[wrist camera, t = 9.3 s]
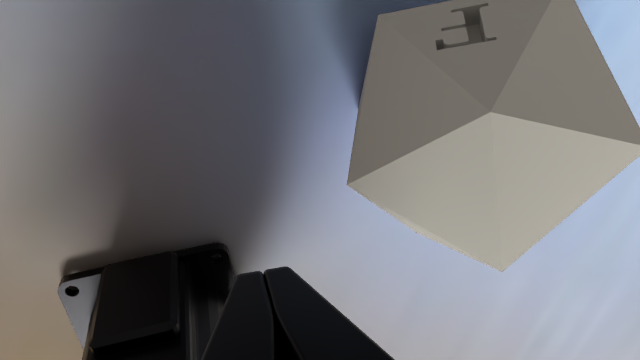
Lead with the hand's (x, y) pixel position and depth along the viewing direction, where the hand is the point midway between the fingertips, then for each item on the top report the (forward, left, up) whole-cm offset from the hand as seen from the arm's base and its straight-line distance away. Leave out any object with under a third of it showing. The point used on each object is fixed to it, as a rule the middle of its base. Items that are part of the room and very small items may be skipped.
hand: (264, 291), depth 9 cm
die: (-2, -8, -12) cm, 14 cm away
